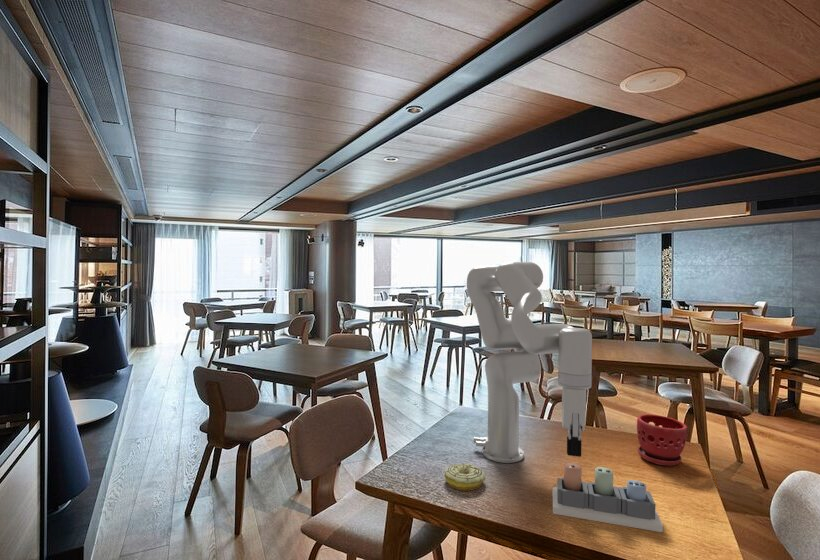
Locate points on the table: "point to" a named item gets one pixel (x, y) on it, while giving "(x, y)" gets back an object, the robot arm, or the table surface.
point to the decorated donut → (464, 476)
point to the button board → (606, 506)
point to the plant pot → (661, 439)
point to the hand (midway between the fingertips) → (574, 454)
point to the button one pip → (572, 476)
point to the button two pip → (603, 481)
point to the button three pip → (636, 490)
